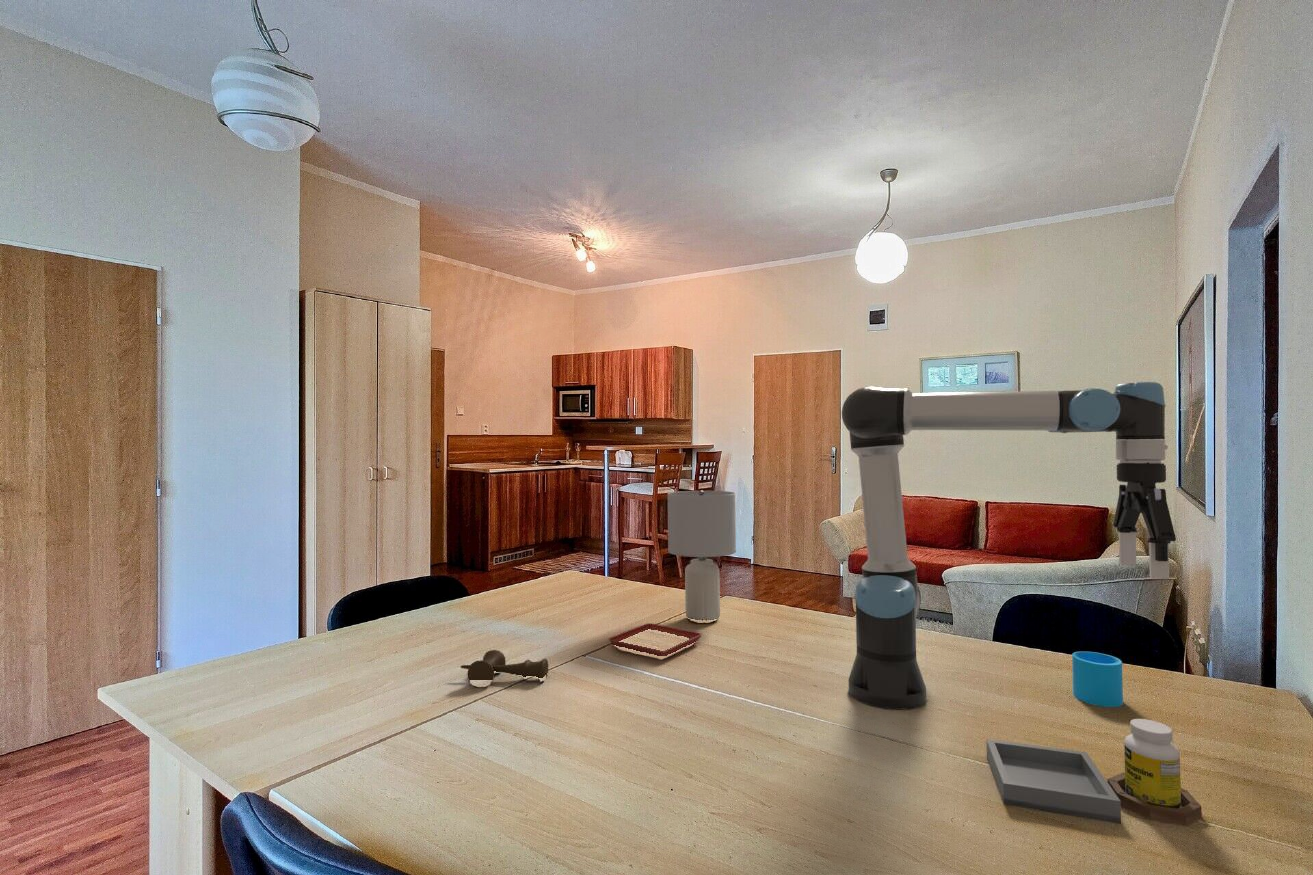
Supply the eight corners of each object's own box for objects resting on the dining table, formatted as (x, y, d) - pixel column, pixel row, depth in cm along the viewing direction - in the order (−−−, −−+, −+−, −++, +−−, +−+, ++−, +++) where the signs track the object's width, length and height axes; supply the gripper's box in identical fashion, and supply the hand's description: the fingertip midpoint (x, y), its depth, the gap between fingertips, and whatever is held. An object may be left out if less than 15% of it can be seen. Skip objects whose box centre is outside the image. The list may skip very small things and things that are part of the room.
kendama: (540, 692, 130) (450, 687, 132) (552, 676, 140) (468, 672, 142) (541, 664, 131) (451, 659, 132) (552, 650, 140) (469, 646, 142)
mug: (1131, 709, 118) (1129, 666, 118) (1082, 704, 120) (1081, 663, 120) (1104, 685, 129) (1103, 647, 129) (1060, 682, 131) (1059, 644, 131)
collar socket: (1125, 815, 84) (1125, 804, 84) (1100, 779, 93) (1100, 769, 93) (1212, 829, 80) (1212, 817, 80) (1178, 791, 89) (1177, 780, 90)
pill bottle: (1114, 792, 89) (1112, 716, 90) (1153, 789, 90) (1151, 714, 90) (1152, 817, 83) (1149, 736, 83) (1193, 814, 84) (1191, 734, 84)
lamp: (664, 628, 174) (662, 492, 175) (674, 609, 194) (672, 488, 195) (735, 630, 171) (733, 492, 171) (737, 611, 191) (736, 488, 192)
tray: (1003, 804, 87) (1003, 783, 87) (986, 757, 100) (986, 738, 100) (1121, 823, 82) (1120, 801, 82) (1086, 771, 95) (1086, 752, 95)
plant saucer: (648, 633, 170) (648, 622, 170) (703, 645, 160) (703, 632, 160) (606, 651, 156) (606, 638, 156) (664, 665, 145) (664, 651, 145)
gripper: (1198, 463, 105) (1201, 586, 105) (1135, 460, 129) (1137, 560, 128) (1146, 463, 107) (1149, 583, 107) (1094, 460, 131) (1095, 558, 131)
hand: (1142, 571), depth 118 cm, fingers open, 13 cm apart
